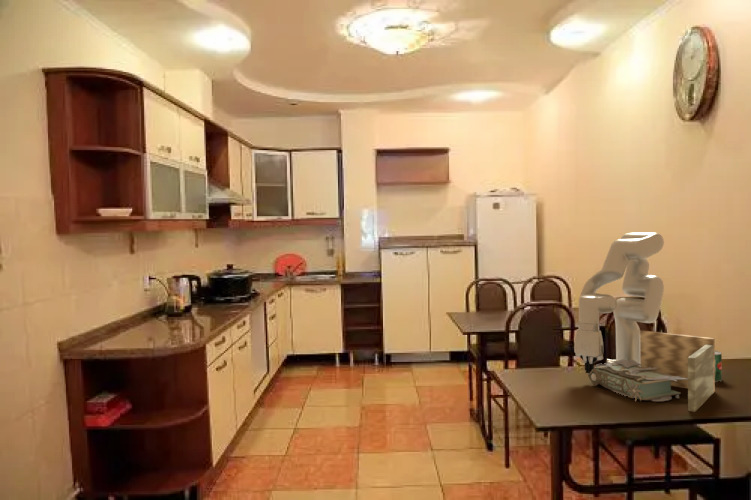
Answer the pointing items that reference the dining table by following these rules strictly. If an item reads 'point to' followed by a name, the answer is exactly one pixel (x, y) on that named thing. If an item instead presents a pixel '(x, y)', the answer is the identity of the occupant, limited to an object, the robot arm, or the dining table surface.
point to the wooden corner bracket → (682, 362)
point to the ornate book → (635, 380)
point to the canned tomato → (718, 366)
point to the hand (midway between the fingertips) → (589, 372)
